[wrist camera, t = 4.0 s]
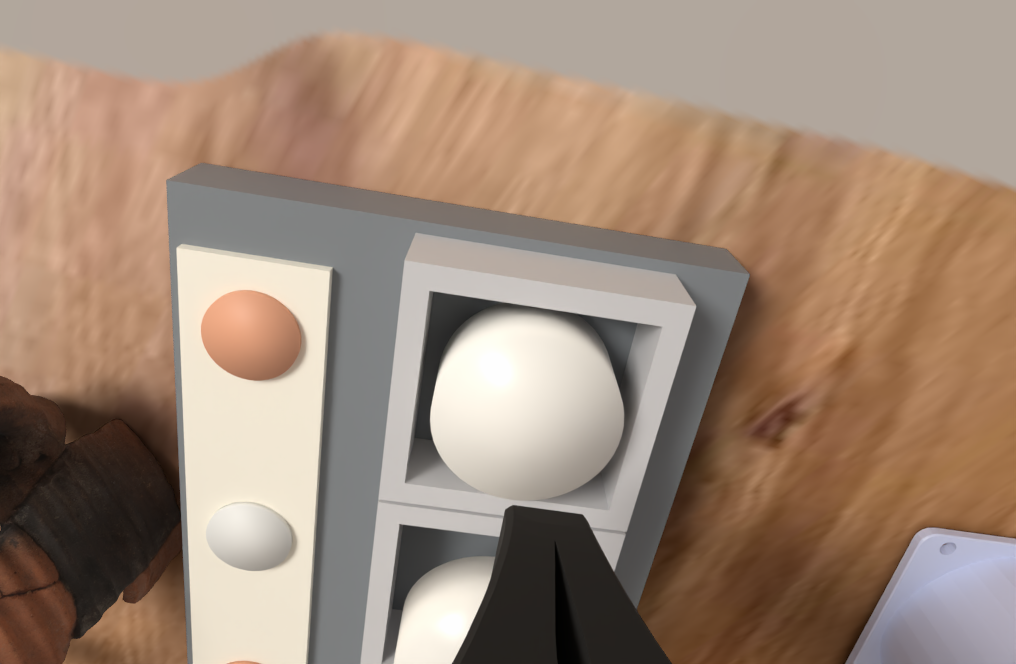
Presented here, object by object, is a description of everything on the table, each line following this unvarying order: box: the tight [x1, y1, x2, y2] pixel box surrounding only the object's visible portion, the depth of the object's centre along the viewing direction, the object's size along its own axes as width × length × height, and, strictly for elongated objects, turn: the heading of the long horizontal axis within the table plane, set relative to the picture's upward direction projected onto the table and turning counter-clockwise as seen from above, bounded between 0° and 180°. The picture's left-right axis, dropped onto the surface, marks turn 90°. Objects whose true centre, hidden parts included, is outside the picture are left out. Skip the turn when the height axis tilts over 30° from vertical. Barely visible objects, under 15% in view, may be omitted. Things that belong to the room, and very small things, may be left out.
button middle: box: [394, 556, 495, 664], centre depth 18 cm, size 4×4×2 cm
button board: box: [166, 163, 750, 664], centre depth 20 cm, size 14×20×4 cm
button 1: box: [430, 302, 624, 501], centre depth 16 cm, size 4×4×2 cm
